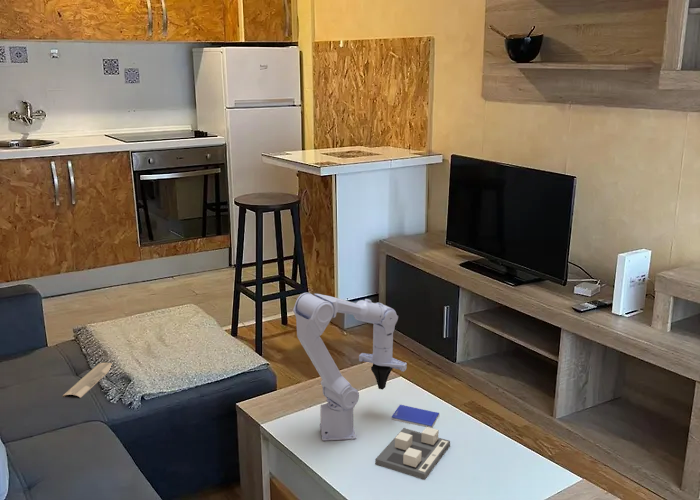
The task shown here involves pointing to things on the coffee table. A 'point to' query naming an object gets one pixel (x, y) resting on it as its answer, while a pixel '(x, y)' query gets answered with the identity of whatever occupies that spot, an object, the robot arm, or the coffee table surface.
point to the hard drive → (415, 416)
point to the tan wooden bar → (89, 380)
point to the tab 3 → (430, 435)
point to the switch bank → (429, 455)
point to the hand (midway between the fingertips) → (381, 387)
